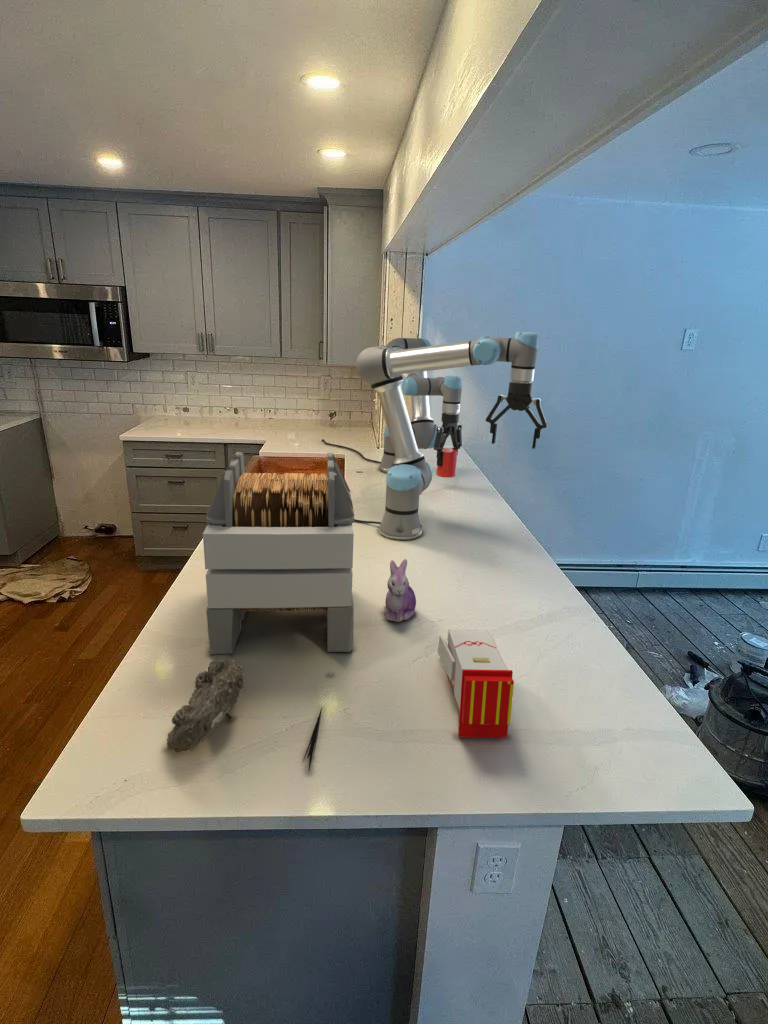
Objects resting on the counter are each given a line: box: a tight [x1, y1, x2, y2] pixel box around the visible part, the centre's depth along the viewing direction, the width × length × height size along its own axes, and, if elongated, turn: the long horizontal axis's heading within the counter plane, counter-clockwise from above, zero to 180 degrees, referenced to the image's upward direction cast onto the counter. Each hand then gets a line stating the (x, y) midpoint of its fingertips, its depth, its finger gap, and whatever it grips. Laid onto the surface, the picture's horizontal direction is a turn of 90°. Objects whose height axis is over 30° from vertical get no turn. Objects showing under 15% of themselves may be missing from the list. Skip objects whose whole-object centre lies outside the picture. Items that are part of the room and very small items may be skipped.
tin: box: [435, 447, 458, 478], centre depth 250 cm, size 8×8×11 cm
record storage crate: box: [202, 451, 355, 655], centre depth 137 cm, size 34×33×41 cm
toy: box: [437, 628, 515, 738], centre depth 117 cm, size 12×13×30 cm
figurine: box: [384, 558, 417, 623], centre depth 145 cm, size 9×10×15 cm
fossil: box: [166, 658, 245, 754], centre depth 106 cm, size 22×10×15 cm
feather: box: [301, 673, 332, 771], centre depth 108 cm, size 2×28×2 cm
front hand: (513, 445), depth 192 cm, fingers open, 13 cm apart
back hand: (446, 464), depth 251 cm, fingers closed on tin, 8 cm apart
